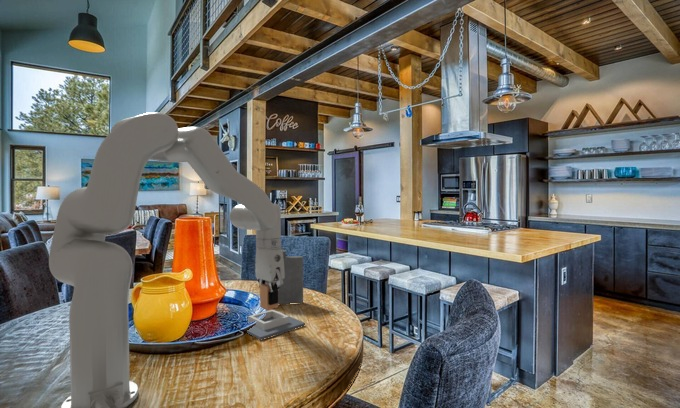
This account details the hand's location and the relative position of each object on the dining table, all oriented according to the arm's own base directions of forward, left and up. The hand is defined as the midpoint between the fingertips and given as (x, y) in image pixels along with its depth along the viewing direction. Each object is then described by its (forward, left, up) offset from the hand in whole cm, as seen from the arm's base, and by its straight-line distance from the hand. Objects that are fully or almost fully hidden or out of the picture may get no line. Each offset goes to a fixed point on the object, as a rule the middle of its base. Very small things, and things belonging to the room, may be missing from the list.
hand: (269, 301), depth 110 cm
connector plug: (0, 0, -2) cm, 2 cm away
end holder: (0, 0, -7) cm, 7 cm away
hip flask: (+16, -16, -8) cm, 24 cm away
